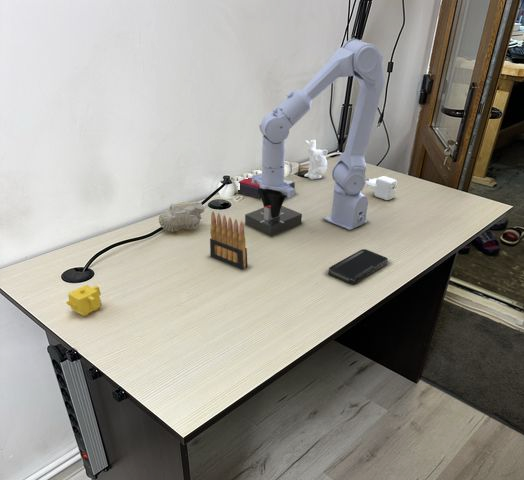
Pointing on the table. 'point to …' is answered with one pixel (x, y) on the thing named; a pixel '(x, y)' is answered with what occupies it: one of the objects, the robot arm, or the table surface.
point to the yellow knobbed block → (85, 299)
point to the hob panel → (273, 221)
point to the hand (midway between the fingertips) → (272, 215)
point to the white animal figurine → (316, 161)
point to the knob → (268, 213)
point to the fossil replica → (181, 216)
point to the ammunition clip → (228, 242)
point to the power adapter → (383, 187)
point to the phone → (357, 266)
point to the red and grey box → (255, 187)
